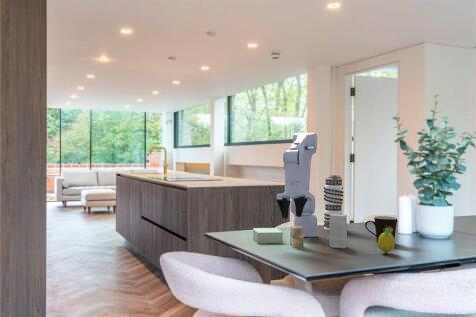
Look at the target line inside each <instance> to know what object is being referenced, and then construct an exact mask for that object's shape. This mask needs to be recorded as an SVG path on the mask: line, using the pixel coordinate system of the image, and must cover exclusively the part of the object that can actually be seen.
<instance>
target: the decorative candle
mask: <svg viewBox="0 0 476 317" xmlns="http://www.w3.org/2000/svg"><path fill="white" fill-rule="evenodd" d="M324 180H325V185H324V186H323V189H324V190H323V191H322V192H323V193H324V194H323V197H324V198H323V200H324V202H323V204H324V214H323V215H324V216H323V219H324V220H323V223H324V224H323V226H324V227H323V230H327V231H330V215H331V214H341V215H343V210H342V209H343V206H342V205H344V204H343V203H344V202H343V201H344V199H343V197H344V191H343V189H344V187H343V178H342V177H341V175H338V174H337V175H336V174H334V175H333V174H328V175H327V176H326V177H325V178H324Z"/></svg>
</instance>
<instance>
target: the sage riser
mask: <svg viewBox="0 0 476 317" xmlns="http://www.w3.org/2000/svg"><path fill="white" fill-rule="evenodd" d="M283 234H284V233H283V231H282V230H280V229H279V228H278V227H254V228H252V238H253V240H254V241H255V243H257V244H274V243H275V244H276V243H277V244H279V243H280V244H281V243H283V242H284V239H283V237H284V236H283Z"/></svg>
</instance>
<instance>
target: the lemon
mask: <svg viewBox="0 0 476 317" xmlns="http://www.w3.org/2000/svg"><path fill="white" fill-rule="evenodd" d="M395 242H396V240H395V241H394V238H393V236H392V235H391V234H390V233H388V230H387V225H386V230H385V232H384V233H382V234H381V235H380V237H379V239H378V243H377V247H378V249H379V250H380V251H382V252H383V253H385V254H386V255H387V254H388V253H390V252H391V251H393V249H394V248H395V245H396V243H395Z"/></svg>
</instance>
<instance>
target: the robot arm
mask: <svg viewBox="0 0 476 317" xmlns="http://www.w3.org/2000/svg"><path fill="white" fill-rule="evenodd" d="M317 134H318V133H317V132H294V133H293V136H292V143H291V145H290V147H288V149H286V150H285V151H283V154H282V160H283V169H284V192H282V193H276V201H275V202H276V203H277V205H278V207H279V210H280V213H281V217H282V219H284V220H285V219H286V220H287V219H289V218H288V217H289V210H290V211H291V212H290V213H292V214H293V224H294V225H293V226H301V227H303V228H304V238H306V237H307V238H308V237H309V238H311V237H312V238H314V237H316V238H317V237H319V236H318V218H317V215H316V214H315V213H316V198H315V195H314V194H312V193H311V192H310V183H311V182H310V181H311V168H312V167H311V166H312V165H311V164H312V157H313V155H314V154H316V153H317V150H318V135H317ZM288 199H289V200H288Z"/></svg>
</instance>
